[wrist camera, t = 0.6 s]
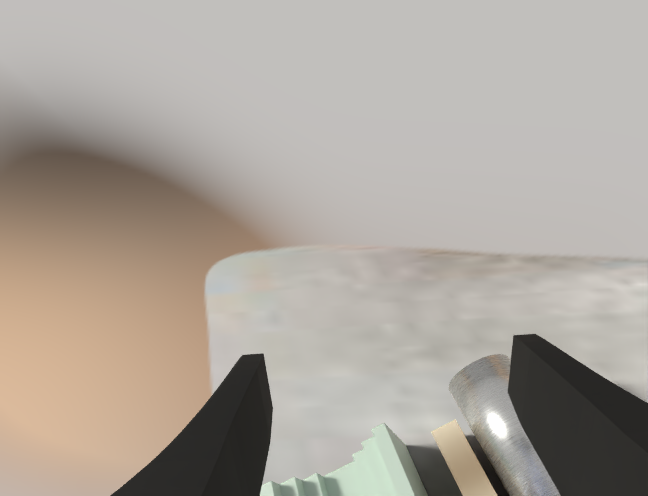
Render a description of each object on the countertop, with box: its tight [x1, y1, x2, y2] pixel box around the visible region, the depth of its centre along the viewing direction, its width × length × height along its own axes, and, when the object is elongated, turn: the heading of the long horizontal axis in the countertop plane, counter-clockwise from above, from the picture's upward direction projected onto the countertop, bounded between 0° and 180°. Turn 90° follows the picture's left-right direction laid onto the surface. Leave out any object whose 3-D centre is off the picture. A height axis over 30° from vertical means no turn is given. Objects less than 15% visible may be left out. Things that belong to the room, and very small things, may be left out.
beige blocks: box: [431, 420, 498, 496], centre depth 22 cm, size 6×8×3 cm
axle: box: [449, 354, 561, 496], centre depth 23 cm, size 7×4×4 cm, turn 19°
